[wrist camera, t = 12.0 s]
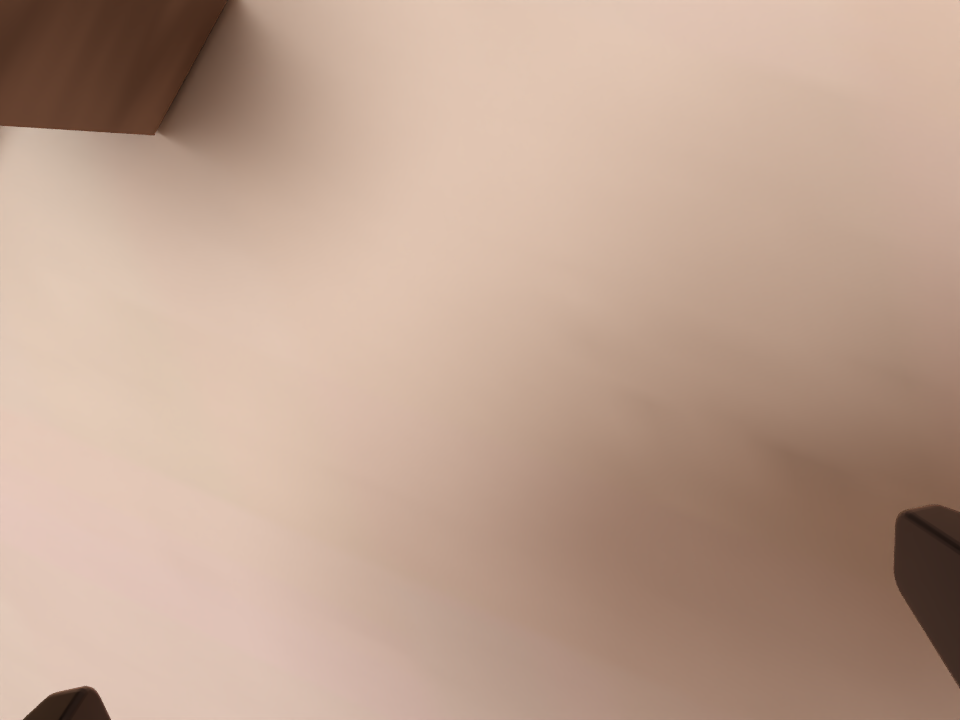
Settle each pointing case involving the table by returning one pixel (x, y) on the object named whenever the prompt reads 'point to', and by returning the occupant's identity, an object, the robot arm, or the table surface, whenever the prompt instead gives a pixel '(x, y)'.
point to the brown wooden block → (98, 61)
